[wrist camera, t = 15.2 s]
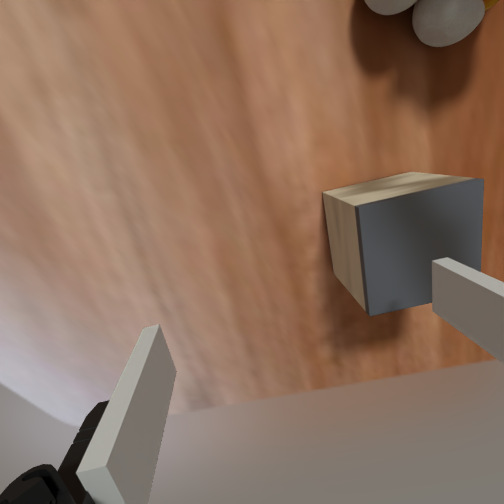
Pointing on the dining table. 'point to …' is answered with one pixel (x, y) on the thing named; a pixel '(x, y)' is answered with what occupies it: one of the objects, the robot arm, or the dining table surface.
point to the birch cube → (402, 235)
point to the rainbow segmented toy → (438, 17)
